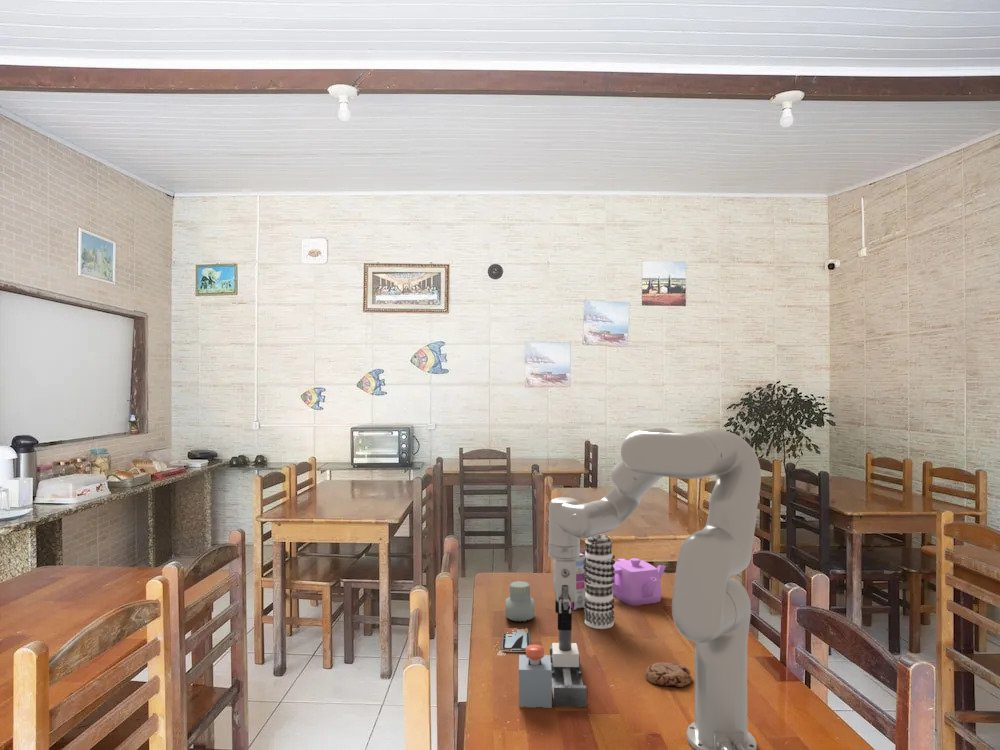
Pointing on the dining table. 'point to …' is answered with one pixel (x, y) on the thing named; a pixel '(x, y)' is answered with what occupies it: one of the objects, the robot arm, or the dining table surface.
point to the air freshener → (519, 602)
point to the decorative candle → (599, 582)
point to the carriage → (565, 652)
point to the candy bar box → (579, 584)
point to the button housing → (535, 682)
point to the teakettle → (637, 581)
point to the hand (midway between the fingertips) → (563, 621)
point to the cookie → (668, 674)
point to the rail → (568, 687)
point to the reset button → (534, 653)
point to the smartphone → (516, 640)
